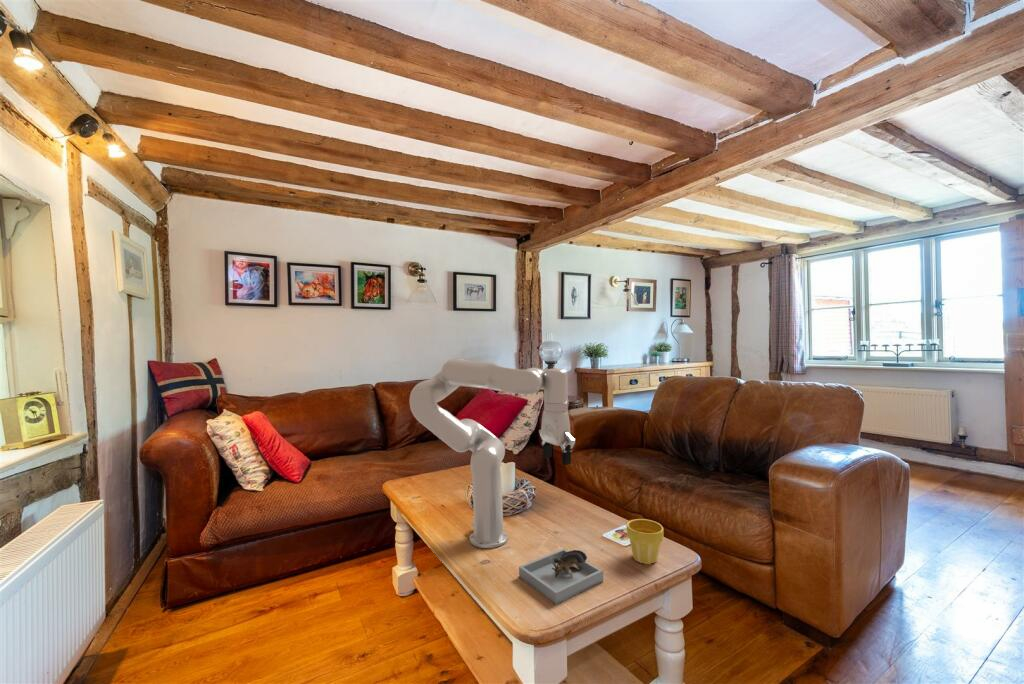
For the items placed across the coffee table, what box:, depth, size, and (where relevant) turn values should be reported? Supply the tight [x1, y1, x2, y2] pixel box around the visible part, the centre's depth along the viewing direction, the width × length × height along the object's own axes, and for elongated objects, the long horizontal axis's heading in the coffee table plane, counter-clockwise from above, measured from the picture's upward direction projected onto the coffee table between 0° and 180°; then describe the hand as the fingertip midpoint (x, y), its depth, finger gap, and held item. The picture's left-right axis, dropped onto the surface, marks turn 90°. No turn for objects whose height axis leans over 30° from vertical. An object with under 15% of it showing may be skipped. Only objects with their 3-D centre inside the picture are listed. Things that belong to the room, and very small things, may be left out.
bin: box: [518, 548, 604, 606], centre depth 119 cm, size 16×17×3 cm
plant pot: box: [626, 518, 664, 565], centre depth 128 cm, size 10×10×10 cm
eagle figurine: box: [550, 549, 588, 578], centre depth 120 cm, size 8×7×9 cm
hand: (556, 460), depth 139 cm, fingers open, 9 cm apart
